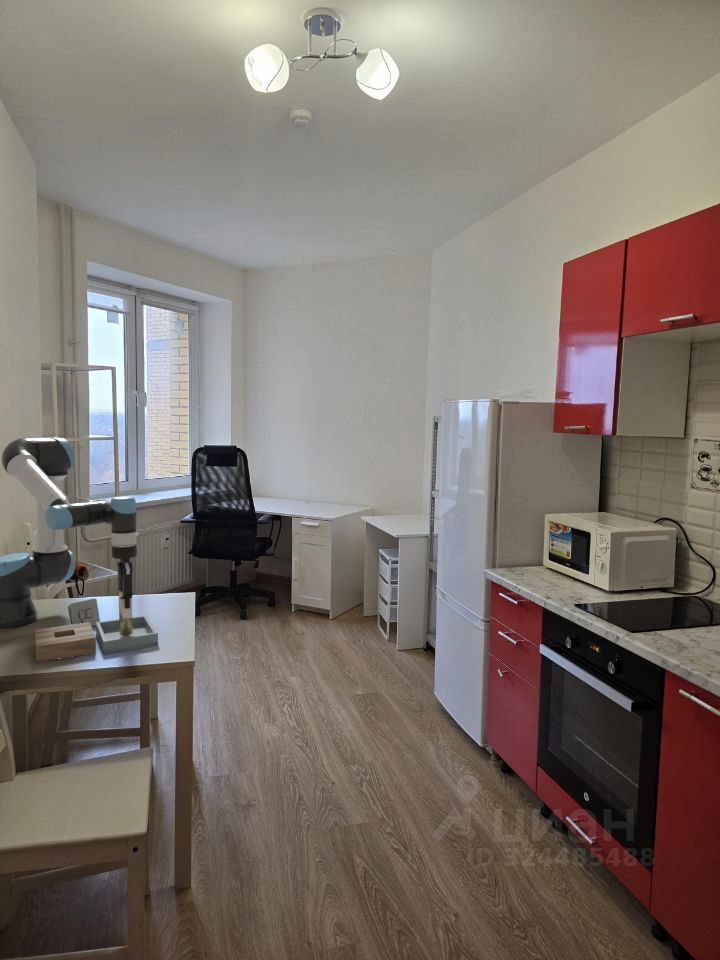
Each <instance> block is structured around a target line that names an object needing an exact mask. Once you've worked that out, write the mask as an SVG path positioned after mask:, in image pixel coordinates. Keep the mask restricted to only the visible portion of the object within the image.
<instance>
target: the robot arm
mask: <svg viewBox="0 0 720 960" xmlns="http://www.w3.org/2000/svg"><path fill="white" fill-rule="evenodd" d="M75 462H76V455H75V450H74V448H73V446H72V445H71V443H70V442H69V441H68V440H67V439H65V438H62V437H21V438H17V439H15V440H13V441H11V442H9V443H8V445H6V446H5V447H4V449H3V451H2V453H1V464H2V467H3V469H4V471H5V472H6V473H7V475H9V476H10V477H11V478H13V479H16V480H17V481H18V482H19V483H20V484H22V485H23V487H24V488H25V489H26V490H27V492H28V493H29V494H30V495H31V496H32V497H33V499H35V500H36V530H37V531H36V533H37V534H36V535H37V536H36V537H37V539H36V540H37V541H36V542H37V544H36V545H35V546H34V547H33V548H32V555H30V554H29V553H27V552H17V553H10V554H9V553H8V554H6V555H3V556H0V629H7V628H16V627H21V626H25V625H28V624H31V623H33V622H35V621H37V620H38V618H39V616H38V610H37V607H36V605H35V603H34V600H33V598H32V589H35V588H39V587H41V588H42V587H44V586H49V585H56V584H60V583H62V582H66V581H68V580H69V579H70V578H71V577H72V576H73V574H74V572H75V568H76V558H75V557H74V556H75V555H74V553H73V552H72V551H71V550H69V546H68V545H67V544H65V541H64V539H65V538H64V534H65V533H64V531H65V530H69V529H75V528H81V527H82V528H83V527H90V526H95V525H96V526H97V525H110V526H111V533H110V535H111V537H110V538H111V539H110V540H111V545H112V547H111V558H113V559H116V560H117V563H116V564H117V575H118V591H122V592H123V596H122V597H120V599H122V618H130V617H133V611H132V612H131V598H132V599H133V596H134V595H133V571H134V570H133V563H132V562H131V558H132V559H133V558H135V557H137V555H138V547H137V546H138V545H137V541H138V540H137V537H139V533H137V502H136V499H135V497H133V496H125V495H124V496H114V497H112V498H111V499H110V500H107V499H95V500H92V501H91V502H80V503H74V502H73V501H72V500H71V499H70V498H69V497H68V496H67V495H66V493H64V479H65V478H66V477H68V476H69V470H72V469H73V467H75V466H74V465H75Z"/></svg>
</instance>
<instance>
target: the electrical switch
mask: <svg viewBox="0 0 720 960" xmlns="http://www.w3.org/2000/svg"><path fill="white" fill-rule="evenodd" d="M67 611H68V614H69V622H70V625H73V624H80V623H87V622H90V624H91V626H92V627H96V622H101V617H100V612H99V606H98V601H97V598H88V599H85V600H80V601H75V602H72V603H69V604H68V607H67Z"/></svg>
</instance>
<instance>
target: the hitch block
mask: <svg viewBox="0 0 720 960" xmlns="http://www.w3.org/2000/svg"><path fill="white" fill-rule="evenodd" d="M96 637H97V636H96V633H95V631H94V630H93V626H91V624H90V622H87V623H81V622H80V624H73V625H71V624H68V625H60V626H53V627H52V626H51V627H46V628H38V629H34V647H35V649H34V650H35V658H36V660H35V661H36V663H37V662H40V663H43V662H42V661H46V662H48V661H47V660H52V661H55V660H54V659H58V658H64V659H67V658H66V657H71V658H73V657H72V656H77V657H79V656H78V655H83V656H86V655H85V654H89V655H93V654H92V653H95V654H97V643H96V641H97V640H96V639H97V638H96ZM58 660H59V659H58Z"/></svg>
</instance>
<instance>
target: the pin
mask: <svg viewBox="0 0 720 960" xmlns="http://www.w3.org/2000/svg"><path fill="white" fill-rule="evenodd" d="M122 596H123V592H122V591H120V590H118V619H119V633H120V635H121V636H127V635H131V634H132V633H133V623H132V617H133V616H132V617H130V618H122V599H120V597H122ZM131 612H132V613H133V597H132V598H131Z"/></svg>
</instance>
